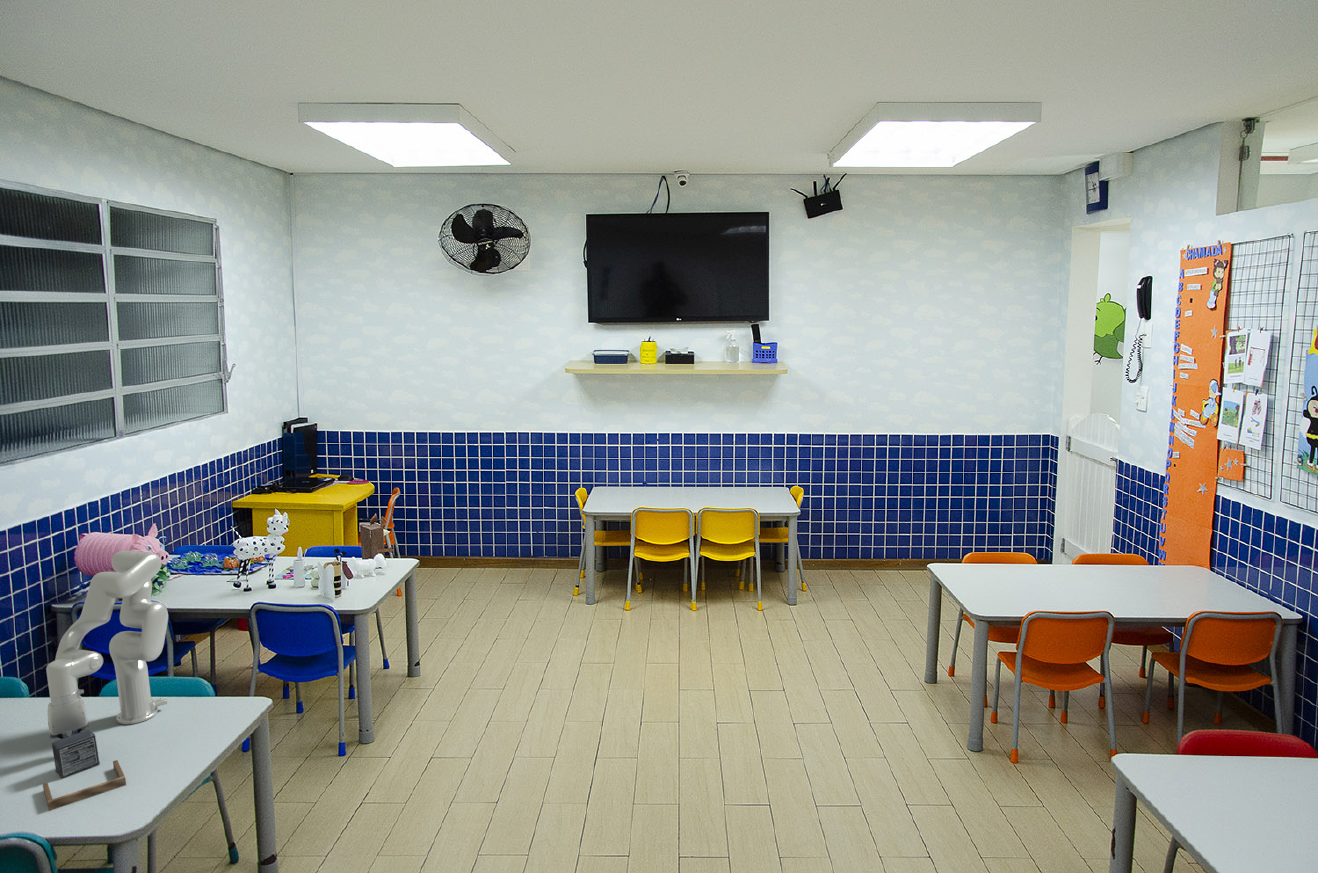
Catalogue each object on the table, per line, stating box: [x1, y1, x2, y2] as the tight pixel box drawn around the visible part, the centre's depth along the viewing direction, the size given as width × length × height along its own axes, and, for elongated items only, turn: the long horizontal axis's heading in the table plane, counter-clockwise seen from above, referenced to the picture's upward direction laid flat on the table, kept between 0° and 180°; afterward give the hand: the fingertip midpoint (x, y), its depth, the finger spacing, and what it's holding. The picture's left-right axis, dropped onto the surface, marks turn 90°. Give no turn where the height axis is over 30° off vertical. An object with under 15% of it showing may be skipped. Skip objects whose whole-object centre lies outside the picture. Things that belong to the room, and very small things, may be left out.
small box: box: [51, 728, 101, 779], centre depth 267 cm, size 11×6×10 cm, turn 141°
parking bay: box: [42, 759, 127, 811], centre depth 257 cm, size 19×13×2 cm
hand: (71, 749), depth 276 cm, fingers closed
